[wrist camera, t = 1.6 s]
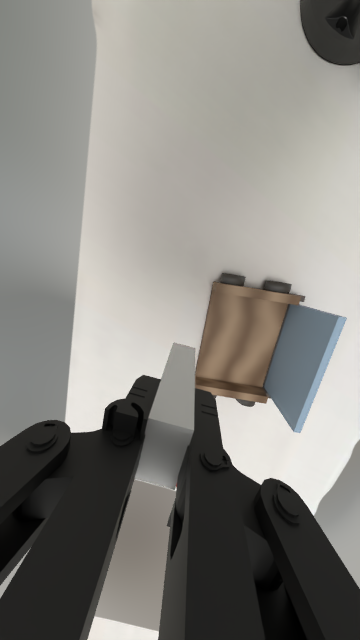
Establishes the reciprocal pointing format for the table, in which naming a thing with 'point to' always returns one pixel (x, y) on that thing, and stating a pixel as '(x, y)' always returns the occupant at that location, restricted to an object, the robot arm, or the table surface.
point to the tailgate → (301, 360)
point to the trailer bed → (241, 338)
